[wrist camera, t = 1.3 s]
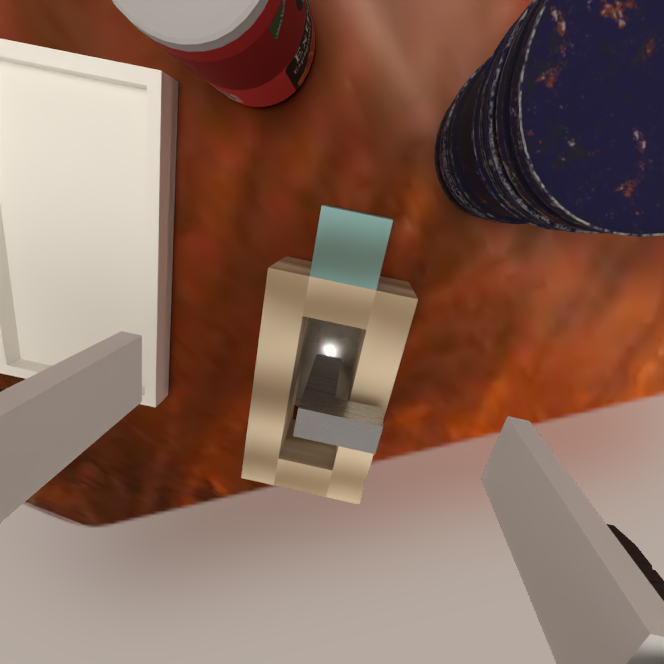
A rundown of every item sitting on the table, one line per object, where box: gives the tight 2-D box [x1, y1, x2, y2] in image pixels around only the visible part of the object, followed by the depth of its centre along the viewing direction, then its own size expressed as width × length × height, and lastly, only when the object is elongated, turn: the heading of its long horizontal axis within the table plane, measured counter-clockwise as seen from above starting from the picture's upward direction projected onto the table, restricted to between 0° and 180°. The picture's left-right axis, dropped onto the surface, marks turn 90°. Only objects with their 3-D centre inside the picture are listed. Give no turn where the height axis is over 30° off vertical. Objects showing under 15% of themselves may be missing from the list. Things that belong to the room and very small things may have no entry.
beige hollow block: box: [241, 205, 418, 504], centre depth 25 cm, size 20×9×5 cm, turn 169°
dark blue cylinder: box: [435, 0, 664, 237], centre depth 18 cm, size 10×10×15 cm
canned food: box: [112, 0, 315, 107], centre depth 19 cm, size 8×8×11 cm
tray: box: [0, 39, 178, 407], centre depth 29 cm, size 15×26×2 cm, turn 169°
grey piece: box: [293, 318, 383, 454], centre depth 26 cm, size 9×9×11 cm
